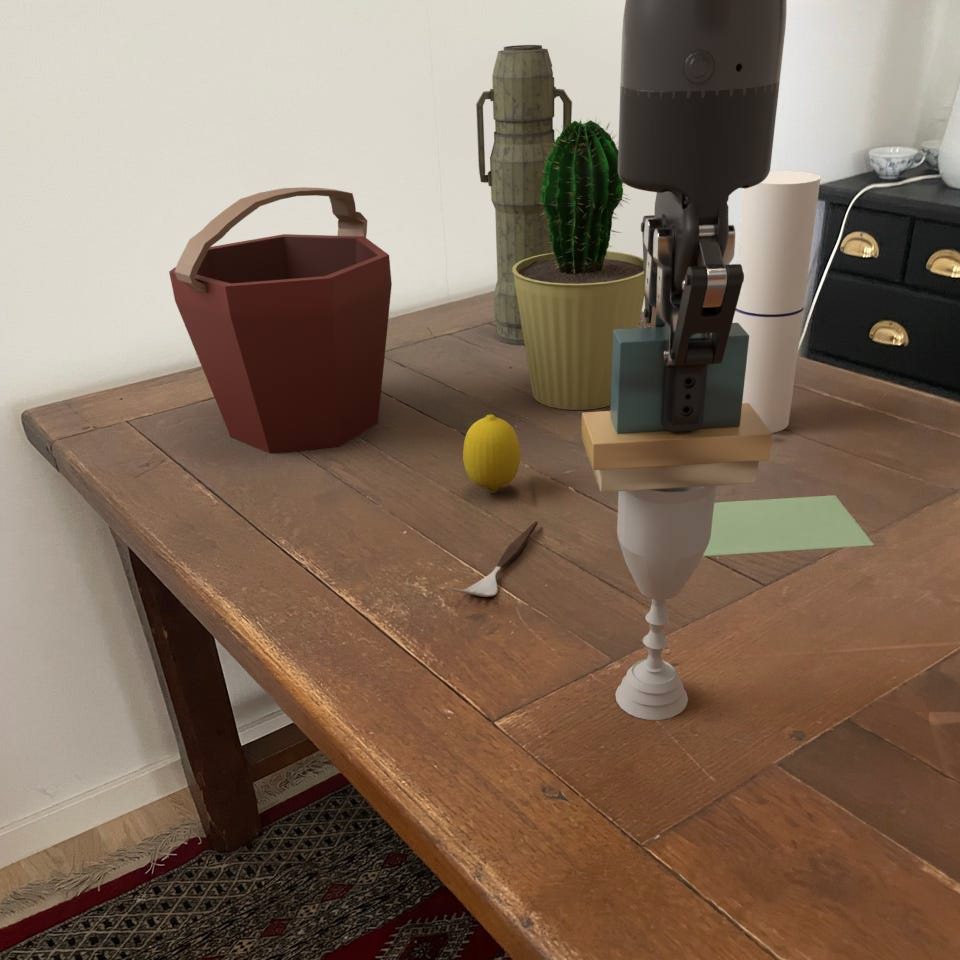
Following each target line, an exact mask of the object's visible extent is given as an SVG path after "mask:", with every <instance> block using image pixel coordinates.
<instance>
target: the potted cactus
mask: <svg viewBox="0 0 960 960" xmlns="http://www.w3.org/2000/svg"><path fill="white" fill-rule="evenodd" d="M594 119H595V120H594V121H593V120H591V119H590V120H589V119H588V118H587V119H586V120H587V121H586V122H583V121H582V119H580V120H579V121H577V120H573V121H571V123H570V124H568V125H566V127H565V128H563V127H561V128H562V131H561V132H560V131H559V129H556V131H557V132H558V133H559V136H557V137H556V139H555V136H554V137H553V138H554V139H553V140H554V141H555V142H554V143H552V142H551V143H552V145H553V150H552V153H551V154H550V153H549V152H548V151H547V152H548V153H549V156H548V158H547V160H546V162H545V161H544V162H545V168H544V171H543V172H544V173H543V174H541V173H539V174H541V175H542V176H543V178H542V184H543V185H542V187H541V202H540V203H535V204H542V205H543V206H542V207H543V208H544V210H545V212H546V214H547V216H548V228H549V230H548V231H549V233H550V234H549V233H548V234H547V236H548V235H550V242H545V243H551V244H550V245H552V248H553V252H554V253H553V252H552V253H548V254H542V255H537V256H533V257H530V258H527V259H524V260H522V261H519V262H518V263H516V264H515V265H514V266H513V267H512V272H513V273H514V281H515V288H516V294H517V300H518V306H519V313H520V319H521V325H522V331H523V337H524V344H525V345H524V350H525V357H526V363H527V368H528V375H529V381H530V386H531V387H530V388H531V393H532V396H533V398H534V400H536V401H537V402H538V403H540V404H542V405H544V406H547V407H549V408H554V409H560V410H569V411H586V410H589V411H590V410H596V409H603V408H606V407H611V381H612V350H613V330H614V329H631V328H640V323H641V317H642V312H643V306H644V302H645V292H644V264H643V257H640V256H637V255H634V254H629V253H626V252H618V251H609V250H608V249H609V248H610V247H611V248H612V247H613V248H614V246H613V245H610V241H611V232H612V233H614V235H616V233H617V234H618V233H619V234H621V233H623V232H622V231H616V230H613V229H612V227H613V220H618V217H615V216H617V214H616V213H615V210H616V209H620V206H621V207H624V206H623V205H624V204H623V203H622V202H624V203H627V205H628V204H629V205H630V203H629V202H627V200H628V201H631V199H630V198H628V196H629V194H625V193H624V189H625V188H624V187H625V186H626V184H625V183H623V182H622V181H621V179H620V178H619V175H618V145H619V143H616V142H615V141H614V138H615V137H616V136H617V134H614V135H613V137H612V136H611V135H612V134H613V131H611V132H610V133H609V132H607V130H608V129H609V126H610V124H611V122H607V125H606V127H605V128H603V127H601V126H600V124H599V122H601V120H600V119H599V122H597V118H594ZM567 120H568V119H566V122H567ZM568 122H569V121H568ZM547 142H548V141H547ZM551 143H550V144H551ZM545 147H547V146H546V145H545ZM548 148H549V149H550V147H549V146H548ZM551 149H552V147H551ZM544 159H546V158H545V157H544ZM536 173H537V172H536ZM536 175H538V174H536ZM541 175H539V176H541ZM538 187H540V186H538ZM623 195H625V196H627V197H624V196H623ZM539 199H540V198H539ZM624 199H626V200H624ZM537 206H538V205H537ZM539 208H541V207H539ZM537 209H538V208H537ZM544 210H543V211H544ZM543 211H542V212H543ZM543 214H544V213H543ZM543 214H541V215H543ZM541 215H540V216H541ZM544 215H545V214H544ZM614 215H615V216H614ZM540 216H539V217H540ZM543 218H544V217H543ZM543 218H542V219H543ZM542 219H541V220H542ZM541 220H540V221H541ZM546 221H547V220H546ZM545 226H546V225H545ZM545 237H546V236H545ZM550 248H551V247H550ZM550 248H549V249H550ZM547 250H548V249H547ZM547 250H546V251H547Z"/></svg>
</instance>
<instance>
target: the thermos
mask: <svg viewBox="0 0 960 960" xmlns="http://www.w3.org/2000/svg"><path fill="white" fill-rule="evenodd" d="M491 75H492V76H491V78H492V88H490V89H489V90H486V91H483V92H482V93H481V95H480V96H479V98H478V100H477V101H476V104H475V108H476V132H477V133H476V135H477V136H476V137H477V160H478V161H477V163H478V173H479V179H480V183H484V184H485V183H487V184H488V187H490V199H491V200H490V201H491V203H492V205H493V207H494V210H495V211H494V214H495V241H496V242H495V244H496V246H495V247H496V271H497V272H496V274H497V281H496V283H495V289H494V293H493V307H494V308H493V309H494V310H493V311H494V319H495V322H496V331H495V332H496V333H495V335H496V339H497V340H499V341H500V342H502V343H506V344H509V345H518V346H525V344H524V337H523V331H522V325H521V319H520V313H519V306H518V300H517V294H516V288H515V281H514V273H513V272H512V267H513V266H514V265H515V264H516V263H518V262H519V261H522V260H524V259H527V258H530V257H533V256H537V255H542V254H548V253H552V252H553V248H552V245H550V244H551V243H545V242H550V235H548V236H547V234H548V233H549V231H548V230H549V228H548V216H547V214H546V212H545V210H544V208H543V207H542V206H543V205H542V204H535V203H540V202H541V187H542V185H543V184H542V178H543V176H542V175H541V174H543V173H544V172H543V171H544V168H545V162H546V160H547V158H548V156H549V153H550V154H551V153H552V150H553V145H552V143H554V142H556V141H554V140H555V128H554V118H555V99H556V98H558V97H559V99H560V100H561V102H562V111H563V112H562V128H565V127H566V125H568V124H570V123H572V117H573V116H572V115H573V114H572V113H573V101H572V100H571V98H570V97H569V96H568V93H566V91H565V89H564V88H563V89H562V88H561V89H560V88H557V87H556V86H555V77H554V72H553V63H552V59H551V56H550V53H549V49H548V48H543V45H542V44H518V45H508V46H503V49H502V50H499V51H497V54H496V58H495V62H494V66H493V70H492V74H491ZM486 100H490V102H492V111H493V112H492V114H493V120H494V123H495V130H494V132H493V145H492V148H491V153H490V156H489V168H490V170H489V171H488V172H487V174H486V160H485V159H486V156H485V155H486V153H485V152H486V151H485V150H486V149H485V128H484V127H485V125H484V124H485V123H484V105H485V102H486ZM566 119H568V120H567V122H566ZM568 121H569V122H568ZM553 137H554V138H553ZM553 139H554V140H553ZM547 141H548V142H547ZM551 142H552V143H551ZM550 143H551V144H550ZM545 145H546V146H547V147H545ZM548 146H549V147H550V149H549V148H548ZM551 147H552V149H551ZM547 151H548V152H549V153H548V152H547ZM544 157H545V158H546V159H544ZM544 161H545V162H544ZM536 172H537V173H536ZM539 173H541V174H539ZM536 174H538V175H536ZM539 175H541V176H539ZM538 186H540V187H538ZM539 198H540V199H539ZM537 205H538V206H537ZM539 207H541V208H539ZM537 208H538V209H537ZM543 210H544V211H543ZM542 211H543V212H542ZM543 213H544V214H545V215H544V214H543ZM541 214H543V215H541ZM540 215H541V216H540ZM539 216H540V217H539ZM543 217H544V218H543ZM542 218H543V219H542ZM541 219H542V220H541ZM540 220H541V221H540ZM546 220H547V221H546ZM545 225H546V226H545ZM549 234H550V233H549ZM545 236H546V237H545ZM550 247H551V248H550ZM549 248H550V249H549ZM547 249H548V250H547ZM546 250H547V251H546ZM553 253H554V252H553Z"/></svg>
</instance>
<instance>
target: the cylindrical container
mask: <svg viewBox="0 0 960 960" xmlns="http://www.w3.org/2000/svg"><path fill="white" fill-rule="evenodd" d="M821 179H822V177H821V175H820V174H818V173H813V172H808V171H799V170H770V172H769V174H768V176H767V177H766V179H765V180H764V181H762V182H761V183H759V184H757V185H755V186H752V187H749V188H743V190H742V200H741V212H740V223H739V224H740V225H739V233H738V234H739V235H738V244H737V245H738V246H737V255H736V258H737V259H736V264H741V266H742V269H743V273H744V281H743V283H742V287H741V291H740V295H739V299H738V302H737V306H736V310H735V314H734V318H733V321H732V323H739V324H740V326H741V327H742V328H743V329H744V330H745V331H746V332H747V334H748V335H749V344H748V354H747V363H746V372H745V382H744V391H743V401H742V403H749V404H750V405H751V406H752V408H753V409H754V410H755V412H756V413H757V414H758V416H759V417H760V418H761V420H762V421H763V422H764V424H765V425H766V426H767V428H768V429H769V430H770V432H771V433H772V434H774V433H778V432H781V431H783V430H785V429H786V428H787V427H788V426H789V425H790V417H791V409H792V402H793V401H792V400H793V393H794V385H795V378H796V371H797V361H798V355H799V347H800V339H801V332H802V325H803V324H802V323H803V317H804V310H805V309H804V308H805V300H806V293H807V285H808V279H809V278H808V277H809V269H810V264H811V263H810V262H811V261H810V260H811V254H812V247H813V238H814V232H815V224H816V216H817V209H818V200H819V194H820V192H819V191H820V185H821Z"/></svg>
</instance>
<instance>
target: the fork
mask: <svg viewBox="0 0 960 960" xmlns="http://www.w3.org/2000/svg"><path fill="white" fill-rule="evenodd" d="M538 524H539V521H534V522H533V523H532V524H531V525H529V526H528V527H527V528H526V529H525V530H524V531H523V532H522V533H521V534H520V535H518V536H517V538H515V539H514V540H513V541H512V542H511V543H510V544H509V545H508V546H507V548H506V549H505V551H504V552H503V554H502V556H501V557H500V559H499V561H498V562H497V564H496V566H495V567H494V569H493V570H492V571H491V573H489V574H487V576H485V577H484V578H482V579H480V580H478V581H477V582H475V583H473V584H472V585H470V586H468V587H466V588H464V589H457V588H453V587H452V588H451V592H452V591H453V592H456V593H462V594H467V595H472V596H477V597H482V598H489V597H494V596H496V595H497V594H498V591H499V588H498V583H497V575H498V573H499V572H500V571H502V570H503V568H505V567H506V566H508V564H509V563H510V562H512V561H513V560H514V559H515V558H516V557H518V556H519V554H520V553H521V552H522V550H523V549H524V547H525V545H526V543H527V542H528V540H529V538H530V537H531V535H532V534H533V532H534V531H535V529H536V528H537V526H538Z"/></svg>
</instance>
